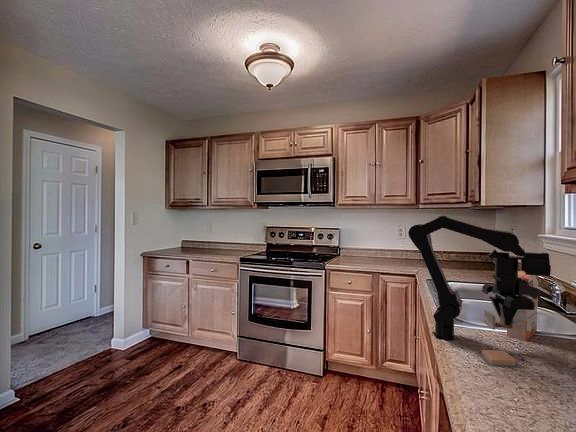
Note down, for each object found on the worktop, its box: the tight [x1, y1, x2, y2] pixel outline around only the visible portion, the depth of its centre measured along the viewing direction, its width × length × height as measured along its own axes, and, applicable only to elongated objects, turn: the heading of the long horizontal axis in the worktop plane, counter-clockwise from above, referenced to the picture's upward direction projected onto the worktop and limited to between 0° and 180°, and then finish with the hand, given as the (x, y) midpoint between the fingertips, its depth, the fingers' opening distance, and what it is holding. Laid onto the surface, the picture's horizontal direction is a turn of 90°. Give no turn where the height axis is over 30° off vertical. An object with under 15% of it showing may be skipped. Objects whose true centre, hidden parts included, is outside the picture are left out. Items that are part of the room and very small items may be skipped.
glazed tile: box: [481, 349, 517, 366], centre depth 91 cm, size 6×1×6 cm
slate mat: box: [476, 352, 525, 369], centre depth 91 cm, size 8×9×1 cm
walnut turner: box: [483, 309, 513, 331], centre depth 99 cm, size 6×6×5 cm
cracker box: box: [506, 270, 539, 342], centre depth 109 cm, size 14×6×21 cm, turn 131°
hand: (505, 323), depth 98 cm, fingers closed on walnut turner, 2 cm apart
